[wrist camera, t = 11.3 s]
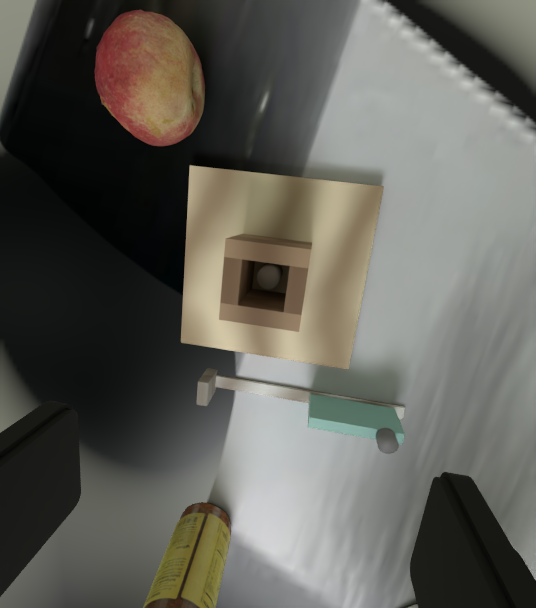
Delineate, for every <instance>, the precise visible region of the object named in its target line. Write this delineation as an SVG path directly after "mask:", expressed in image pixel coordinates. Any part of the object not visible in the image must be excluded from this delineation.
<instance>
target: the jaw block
mask: <svg viewBox="0 0 536 608" xmlns="http://www.w3.org/2000/svg"><path fill="white" fill-rule="evenodd" d="M311 248H312V242H304V241H296V240H288V239H281V238H273V237H265V236H258V235H250V234H240V235H236V236H232V237H229V238H226V240H225V252H224V264H223V276H222V288H221V300H220V312H219V320H225V321H231V322H237V323H244V324H250V325H257V326H263V327H270V328H276V329H282V330H289V331H295V332H299V329H300V322H301V315H302V308H303V302H304V295H305V288H306V282H307V275H308V268H309V261H310V255H311ZM255 261H258V262H265V263H273V264H280V265H287V266H290V268H289V276H288V283H287V291H286V293H280V292H273V291H266V290H259V289H252V285H253V276H254V266H255Z"/></svg>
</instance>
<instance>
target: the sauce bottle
mask: <svg viewBox="0 0 536 608" xmlns="http://www.w3.org/2000/svg"><path fill="white" fill-rule="evenodd" d="M230 536H231V526H230V521H229V518H228V516H227V514H226V512H224V511H223V510H221V509H220V508H218V507H216V506H215V505H212V504H210V503H203V502H202V503H197V504H192V505H191V506H189V507H187V509H186V510H185V511H184V512H183V514H182V516H181V518H180V520H179V522H178V523H177V525H176V527H175V530H174V532H173V535H172V537H171V540H170V543H169V545H168V547H167V550H166V552H165V554H164V557H163V559H162V562H161V564H160V567H159V569H158V572H157V574H156V577H155V579H154V582H153V584H152V587H151V589H150V592H149V594H148V597H147V599H146V602H145V604H144V607H143V608H215V607H216V602H217V598H218V593H219V589H220V584H221V580H222V575H223V571H224V566H225V562H226V557H227V553H228V548H229V544H230Z"/></svg>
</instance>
